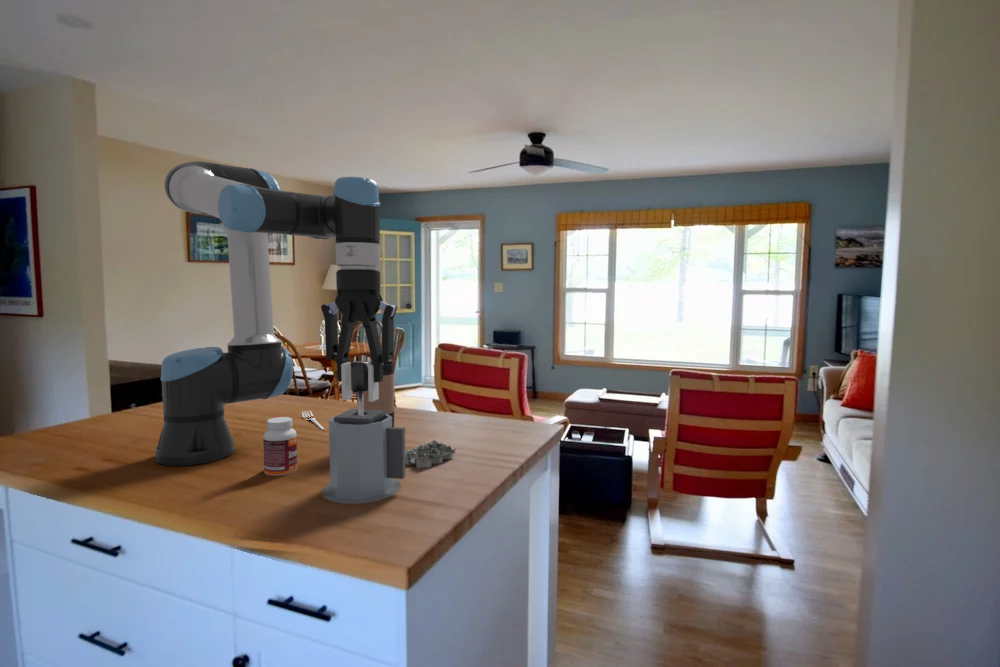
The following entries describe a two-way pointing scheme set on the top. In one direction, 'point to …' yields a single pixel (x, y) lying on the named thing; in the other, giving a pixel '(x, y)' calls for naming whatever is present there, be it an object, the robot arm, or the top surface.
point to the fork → (312, 419)
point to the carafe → (365, 454)
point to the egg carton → (428, 454)
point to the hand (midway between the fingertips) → (360, 399)
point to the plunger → (359, 382)
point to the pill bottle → (280, 447)
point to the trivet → (332, 497)
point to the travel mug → (383, 392)
